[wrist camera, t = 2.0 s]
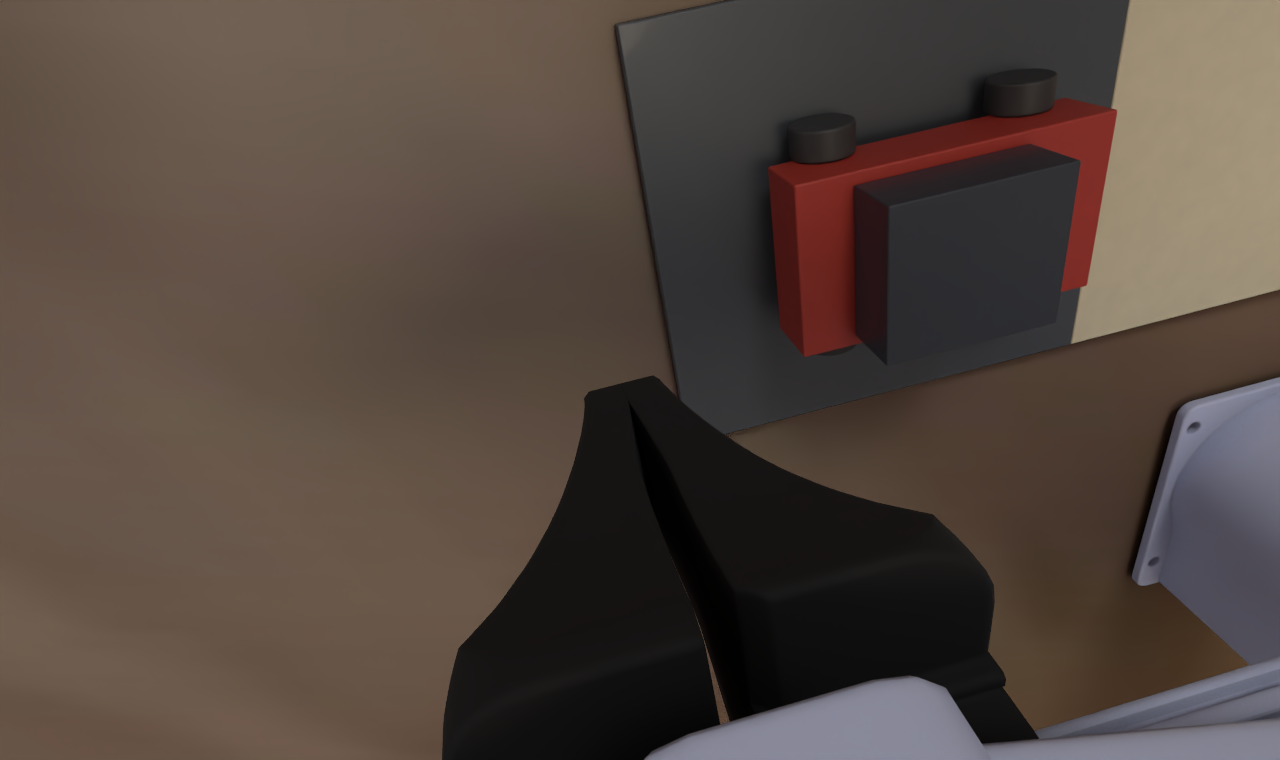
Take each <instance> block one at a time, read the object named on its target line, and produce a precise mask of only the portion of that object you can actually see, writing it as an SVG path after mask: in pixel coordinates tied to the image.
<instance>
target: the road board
mask: <svg viewBox="0 0 1280 760" xmlns="http://www.w3.org/2000/svg"><path fill="white" fill-rule="evenodd" d="M615 32H616V38H617V43H618V49H619V55H620V61H621V67H622V72H623V78H624V84H625V90H626V96H627V101H628V107H629V113H630V119H631V125H632V130H633V136H634V142H635V148H636V154H637V159H638V165H639V171H640V177H641V183H642V188H643V194H644V200H645V206H646V212H647V217H648V223H649V229H650V235H651V240H652V246H653V252H654V258H655V264H656V269H657V275H658V281H659V287H660V293H661V298H662V304H663V310H664V316H665V322H666V327H667V333H668V339H669V345H670V351H671V356H672V362H673V368H674V374H675V380H676V385H677V391H678V397H679V399H680V400H681V401H682V402H683V403H684V404H686V405H687V406H688V407H689V408H690V409H691V410H693V411H694V412H695V413H696V414H698V415H699V416H700V417H701V418H703V419H704V420H705V421H707V422H708V423H709V424H710V425H712V426H713V427H714V428H716V429H717V430H718V431H720V432H721V433H723V434H728V433H731V432H735V431H739V430H743V429H747V428H751V427H754V426H758V425H762V424H766V423H770V422H774V421H778V420H781V419H785V418H789V417H793V416H797V415H801V414H804V413H808V412H812V411H816V410H820V409H824V408H827V407H831V406H835V405H839V404H843V403H847V402H850V401H854V400H858V399H862V398H866V397H870V396H873V395H877V394H881V393H885V392H889V391H893V390H896V389H900V388H904V387H908V386H912V385H916V384H919V383H923V382H927V381H931V380H935V379H939V378H942V377H946V376H950V375H954V374H958V373H962V372H965V371H969V370H973V369H977V368H981V367H985V366H988V365H992V364H996V363H1000V362H1004V361H1008V360H1012V359H1015V358H1019V357H1023V356H1027V355H1031V354H1035V353H1038V352H1042V351H1046V350H1050V349H1054V348H1058V347H1061V346H1065V345H1069V344H1073V343H1077V342H1081V341H1084V340H1088V339H1092V338H1096V337H1100V336H1104V335H1107V334H1111V333H1115V332H1119V331H1123V330H1127V329H1130V328H1134V327H1138V326H1142V325H1146V324H1150V323H1153V322H1157V321H1161V320H1165V319H1169V318H1173V317H1176V316H1180V315H1184V314H1188V313H1192V312H1196V311H1199V310H1203V309H1207V308H1211V307H1215V306H1219V305H1223V304H1226V303H1230V302H1234V301H1238V300H1242V299H1246V298H1249V297H1253V296H1257V295H1261V294H1265V293H1269V292H1272V291H1276V290H1280V0H725V1H721V2H716V3H711V4H707V5H702V6H697V7H693V8H688V9H683V10H679V11H674V12H669V13H665V14H660V15H655V16H651V17H646V18H641V19H637V20H632V21H627V22H622V23H618V24H615ZM1031 68H1037V69H1048V70H1052V71H1055V72H1056V73H1057V75H1058V79H1057V87H1056V95H1055V100H1057V99H1061V98H1069V99H1073V100H1078V101H1082V102H1086V103H1090V104H1095V105H1099V106H1103V107H1107V108H1111V109H1116V110H1117V117H1116V123H1115V129H1114V134H1113V140H1112V146H1111V151H1110V157H1109V163H1108V169H1107V174H1106V180H1105V186H1104V191H1103V197H1102V203H1101V208H1100V214H1099V220H1098V226H1097V231H1096V237H1095V243H1094V248H1093V254H1092V260H1091V266H1090V271H1089V277H1088V283H1087V285H1086V286H1084V287H1080V288H1076V289H1072V290H1068V291H1064V292H1061V294H1060V300H1059V307H1058V313H1057V320H1056V323H1053V324H1049V325H1045V326H1042V327H1038V328H1034V329H1030V330H1026V331H1022V332H1018V333H1014V334H1011V335H1007V336H1003V337H999V338H995V339H991V340H987V341H983V342H980V343H976V344H972V345H968V346H964V347H960V348H956V349H952V350H949V351H945V352H941V353H937V354H933V355H929V356H925V357H921V358H917V359H914V360H910V361H906V362H902V363H898V364H894V365H890V366H886V365H885V364H884V363H883V362H882V361H881V360H880V359H879V358H878V357H877V356H876V355H875V354H874V353H873V352H872V351H871V350H870V349H869V348H868V347H867V346H866V345H865V344H864V343H860V344H857V345H856V346H855V347H854V348H853V349H852V350H850V351H849V352H846V353H844V354H840V355H835V356H820V355H812V356H809V357H804V356H803V355H802V354H801V353H800V351H799V350H798V349H797V348H796V346H795V345H794V344H793V343H792V341H791V340H790V339H789V338H788V337H787V335H786V334H785V333H784V332H783V330H782V329H781V328H780V318H779V305H778V292H777V279H776V266H775V253H774V239H773V226H772V213H771V200H770V187H769V174H768V168H769V167H770V166H774V165H778V164H782V163H787V162H791V161H792V160H791V158H790V156H789V143H788V127H789V125H790V124H791V123H792V122H794V121H796V120H798V119H801V118H804V117H808V116H812V115H818V114H827V113H842V114H848V115H851V116H853V117H854V118H855V120H856V146H860V145H864V144H868V143H873V142H877V141H881V140H885V139H890V138H894V137H898V136H903V135H907V134H911V133H916V132H920V131H924V130H928V129H933V128H937V127H941V126H946V125H950V124H954V123H958V122H963V121H967V120H971V119H976V118H980V117H984V116H988V114H986V113H984V111H983V101H984V88H985V81H986V79H987V78H988V77H989V76H992V75H994V74H997V73H1000V72H1004V71H1010V70H1017V69H1031Z"/></svg>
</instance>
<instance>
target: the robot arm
mask: <svg viewBox="0 0 1280 760" xmlns="http://www.w3.org/2000/svg"><path fill="white" fill-rule="evenodd" d="M584 402H585V411H584V420H583V426H582V432H581V437H580V441H579V445H578V449H577V453H576V457H575V461H574V464H573V467H572V470H571V473H570V476H569V479H568V482H567V485H566V488H565V491H564V493H563V496H562V498H561V501H560V503H559V505H558V508H557V510H556V512H555V514H554V516H553V518H552V520H551V523H550V525H549V527H548V529H547V531H546V532H545V534H544V536H543V538H542V540H541V541H540V543H539V545H538V547H537V549H536V550H535V552H534V554H533V556H532V557H531V559H530V560H529V562H528V564H527V565H526V567H525V568H524V570H523V571H522V573H521V574H520V575H519V577H518V578H517V580H516V581H515V582H514V584H513V585H512V587H511V588H510V589H509V591H508V592H507V594H506V595H505V596H504V598H503V599H502V600H501V602H500V603H499V604H498V606H497V607H496V608H495V609H494V610H493V612H492V613H491V614H490V615H489V616H488V617H487V618H486V619H485V620H484V621H483V623H482V624H481V625H480V626H479V627H478V628H477V629H476V630H475V631H474V632H473V634H472V635H471V636H470V637H469V638H468V639H467V640H466V641H465V642H464V643H463V644H462V645H461V646H460V647H459V649H458V652H457V656H456V659H455V663H454V668H453V672H452V676H451V680H450V685H449V690H448V696H447V701H446V707H445V714H444V724H443V749H442V760H1280V377H1278V378H1274V379H1271V380H1267V381H1263V382H1260V383H1256V384H1252V385H1249V386H1245V387H1241V388H1237V389H1234V390H1230V391H1226V392H1223V393H1219V394H1215V395H1212V396H1208V397H1204V398H1201V399H1197V400H1193V401H1190V402H1188V403H1186V404H1184V405H1183V406H1182V407H1181V408H1180V409H1179V410H1178V412H1177V414H1176V418H1175V421H1174V425H1173V429H1172V432H1171V436H1170V439H1169V443H1168V447H1167V450H1166V454H1165V457H1164V461H1163V465H1162V468H1161V472H1160V475H1159V479H1158V483H1157V486H1156V490H1155V494H1154V497H1153V501H1152V504H1151V508H1150V512H1149V515H1148V519H1147V522H1146V526H1145V530H1144V533H1143V537H1142V540H1141V544H1140V548H1139V551H1138V555H1137V558H1136V562H1135V566H1134V569H1133V573H1132V579H1133V580H1134V581H1135V582H1136V583H1137V584H1138V585H1140V586H1146V585H1150V584H1153V583H1157V582H1160V583H1161V584H1162V585H1163V586H1164V587H1165V588H1167V589H1168V590H1169V591H1170V592H1171V593H1172V594H1173V595H1174V596H1175V597H1176V598H1177V599H1179V600H1180V601H1181V602H1182V603H1183V604H1184V605H1185V606H1186V607H1187V608H1188V609H1189V610H1191V611H1192V612H1193V613H1194V614H1195V615H1196V616H1197V617H1198V618H1199V619H1200V620H1201V621H1203V622H1204V623H1205V624H1206V625H1207V626H1208V627H1209V628H1210V629H1211V630H1212V631H1214V632H1215V633H1216V634H1217V635H1218V636H1219V637H1220V638H1221V639H1222V640H1223V641H1224V642H1226V643H1227V644H1228V645H1229V646H1230V647H1231V648H1232V649H1233V650H1234V651H1235V652H1236V653H1238V654H1239V655H1240V656H1241V657H1242V658H1243V659H1244V660H1245V661H1246V662H1247V663H1248V664H1250V665H1249V666H1246V667H1243V668H1239V669H1236V670H1233V671H1229V672H1226V673H1223V674H1220V675H1216V676H1213V677H1210V678H1207V679H1203V680H1200V681H1197V682H1193V683H1190V684H1187V685H1184V686H1180V687H1177V688H1174V689H1170V690H1167V691H1164V692H1161V693H1157V694H1154V695H1151V696H1148V697H1144V698H1141V699H1138V700H1134V701H1131V702H1128V703H1125V704H1121V705H1118V706H1115V707H1112V708H1108V709H1105V710H1102V711H1098V712H1095V713H1092V714H1089V715H1085V716H1082V717H1079V718H1076V719H1072V720H1069V721H1066V722H1062V723H1059V724H1056V725H1053V726H1049V727H1046V728H1043V729H1040V730H1036V731H1034V730H1033V729H1032V727H1031V726H1030V725H1029V723H1028V722H1027V721H1026V719H1025V718H1024V716H1023V715H1022V714H1021V712H1020V711H1019V709H1018V708H1017V707H1016V705H1015V704H1014V702H1013V701H1012V700H1011V698H1010V697H1009V696H1008V694H1007V693H1006V691H1005V690H1004V689H1003V687H1002V686H1005V682H1006V678H1005V676H1004V673H1003V671H1002V670H1001V668H1000V667H999V666H998V664H997V663H996V662H995V660H994V659H993V657H992V656H991V655H990V653H989V652H988V647H989V640H990V632H991V625H992V618H993V610H994V603H995V602H994V585H993V583H992V581H991V579H990V577H989V575H988V573H987V571H986V570H985V569H984V567H983V566H982V565H981V564H980V562H979V561H978V560H977V559H976V558H975V556H974V555H973V554H972V553H971V552H970V551H969V549H968V548H967V547H966V546H965V545H964V544H963V543H962V542H961V541H960V540H959V539H958V538H957V537H956V536H955V535H954V534H953V533H952V532H951V531H950V530H949V529H948V528H946V527H945V526H944V525H943V524H942V523H941V522H940V521H939V520H938V519H937V518H936V517H935V516H934V515H933V514H928V513H923V512H919V511H914V510H909V509H904V508H900V507H895V506H890V505H886V504H881V503H877V502H873V501H870V500H866V499H863V498H859V497H856V496H853V495H849V494H846V493H843V492H840V491H837V490H834V489H831V488H828V487H825V486H822V485H820V484H817V483H815V482H812V481H810V480H807V479H805V478H802V477H800V476H797V475H795V474H793V473H790V472H788V471H786V470H784V469H782V468H780V467H778V466H776V465H774V464H772V463H770V462H768V461H766V460H764V459H762V458H760V457H759V456H757V455H755V454H753V453H752V452H750V451H749V450H747V449H745V448H744V447H742V446H741V445H739V444H738V443H736V442H734V441H733V440H731V439H730V438H728V437H727V436H725V435H724V434H723V433H721V432H720V431H718V430H717V429H716V428H714V427H713V426H712V425H710V424H709V423H708V422H707V421H705V420H704V419H703V418H701V417H700V416H699V415H698V414H696V413H695V412H694V411H693V410H691V409H690V408H689V407H688V406H687V405H686V404H684V403H683V402H682V401H681V400H680V399H679V398H678V397H677V396H676V395H674V394H673V393H672V392H671V391H670V390H669V389H668V388H667V387H666V386H665V385H664V384H663V383H662V382H661V381H660V379H658V378H656V377H655V376H649V377H645V378H641V379H637V380H633V381H629V382H625V383H621V384H617V385H613V386H609V387H605V388H601V389H598V390H594V391H590V392H588V394H587V395H586V396H585V398H584ZM671 557H672V558H671ZM673 562H674V563H673ZM674 564H675V565H674ZM676 569H677V570H676ZM677 571H678V572H677ZM678 574H679V575H678ZM679 576H680V577H679ZM680 578H681V579H680ZM681 581H682V582H681ZM682 583H683V584H682ZM683 585H684V586H683ZM684 588H685V589H684ZM685 590H686V591H685ZM686 592H687V593H686ZM689 599H690V600H689ZM692 606H693V607H692ZM693 609H694V610H693ZM694 611H695V613H694ZM695 614H696V616H695ZM696 617H697V619H698V622H699V625H700V627H701V630H702V634H703V637H704V640H705V643H706V646H707V650H708V653H709V656H710V659H711V662H712V666H713V669H714V672H715V675H716V678H717V682H718V685H719V688H720V691H721V695H722V698H723V701H724V704H725V708H726V711H727V714H728V717H729V721H730V722H727V723H724V724H720V721H719V716H718V711H717V705H716V700H715V695H714V690H713V685H712V679H711V674H710V669H709V664H708V658H707V653H706V648H705V644H704V640H703V637H702V634H701V631H700V628H699V625H698V622H697V619H696Z"/></svg>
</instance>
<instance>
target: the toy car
mask: <svg viewBox="0 0 1280 760" xmlns="http://www.w3.org/2000/svg"><path fill="white" fill-rule="evenodd" d="M1057 79H1058V75H1057V73H1056V72H1055V71H1052V70H1048V69H1037V68H1031V69H1017V70H1010V71H1004V72H1000V73H997V74H994V75H992V76H989V77H988V78H987V79H986V81H985V88H984V101H983V111H984V113H986V114H988V116H984V117H980V118H976V119H971V120H967V121H963V122H958V123H954V124H950V125H946V126H941V127H937V128H933V129H928V130H924V131H920V132H916V133H911V134H907V135H903V136H898V137H894V138H890V139H885V140H881V141H877V142H873V143H868V144H864V145H860V146H856V120H855V118H854V117H853V116H851V115H848V114H842V113H827V114H818V115H812V116H808V117H804V118H801V119H798V120H796V121H794V122H792V123H791V124H790V125H789V127H788V143H789V156H790V158H791V160H792V161H791V162H787V163H782V164H778V165H774V166H770V167H769V168H768V174H769V187H770V200H771V213H772V226H773V239H774V253H775V266H776V279H777V292H778V305H779V318H780V328H781V329H782V330H783V332H784V333H785V334H786V335H787V337H788V338H789V339H790V340H791V341H792V343H793V344H794V345H795V346H796V348H797V349H798V350H799V351H800V353H801V354H802V355H803V356H804V357H809V356H812V355H820V356H835V355H840V354H844V353H846V352H849V351H850V350H852V349H853V348H854V347H855V346H856V345H857V344H860V343H864V344H865V345H866V346H867V347H868V348H869V349H870V350H871V351H872V352H873V353H874V354H875V355H876V356H877V357H878V358H879V359H880V360H881V361H882V362H883V363H884V364H885V365H886V366H890V365H894V364H898V363H902V362H906V361H910V360H914V359H917V358H921V357H925V356H929V355H933V354H937V353H941V352H945V351H949V350H952V349H956V348H960V347H964V346H968V345H972V344H976V343H980V342H983V341H987V340H991V339H995V338H999V337H1003V336H1007V335H1011V334H1014V333H1018V332H1022V331H1026V330H1030V329H1034V328H1038V327H1042V326H1045V325H1049V324H1053V323H1056V320H1057V313H1058V307H1059V300H1060V294H1061V292H1064V291H1068V290H1072V289H1076V288H1080V287H1084V286H1086V285H1087V283H1088V277H1089V271H1090V266H1091V260H1092V254H1093V248H1094V243H1095V237H1096V231H1097V226H1098V220H1099V214H1100V208H1101V203H1102V197H1103V191H1104V186H1105V180H1106V174H1107V169H1108V163H1109V157H1110V151H1111V146H1112V140H1113V134H1114V129H1115V123H1116V117H1117V110H1116V109H1111V108H1107V107H1103V106H1099V105H1095V104H1090V103H1086V102H1082V101H1078V100H1073V99H1069V98H1061V99H1057V100H1055V95H1056V87H1057Z"/></svg>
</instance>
